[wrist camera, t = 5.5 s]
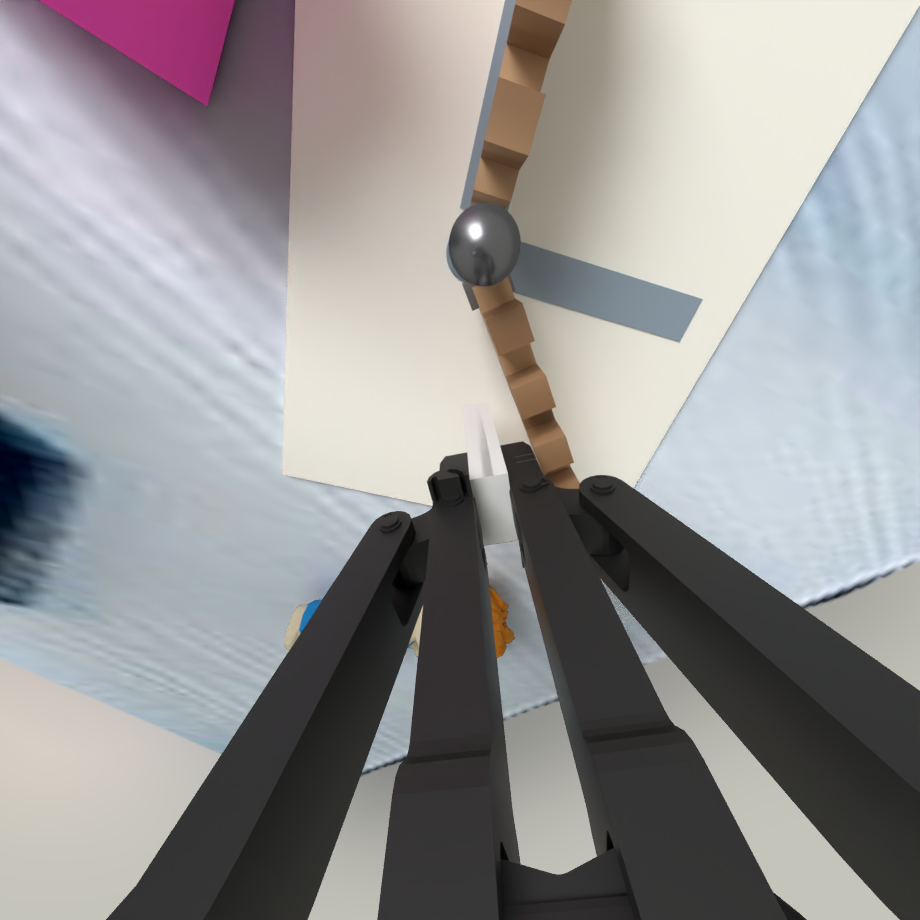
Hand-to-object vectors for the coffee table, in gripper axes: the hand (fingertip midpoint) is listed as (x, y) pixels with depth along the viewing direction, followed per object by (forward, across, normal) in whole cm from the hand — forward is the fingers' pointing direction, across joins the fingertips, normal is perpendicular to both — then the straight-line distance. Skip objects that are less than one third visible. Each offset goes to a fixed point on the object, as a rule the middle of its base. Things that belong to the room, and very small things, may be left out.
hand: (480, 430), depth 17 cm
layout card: (+3, +4, +7) cm, 8 cm away
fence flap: (+2, +2, +2) cm, 4 cm away
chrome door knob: (+3, +1, +7) cm, 8 cm away
